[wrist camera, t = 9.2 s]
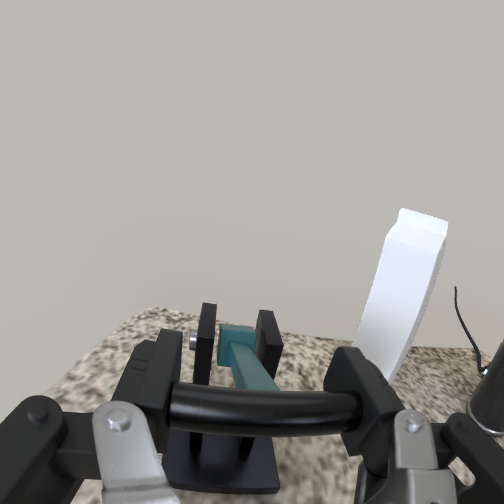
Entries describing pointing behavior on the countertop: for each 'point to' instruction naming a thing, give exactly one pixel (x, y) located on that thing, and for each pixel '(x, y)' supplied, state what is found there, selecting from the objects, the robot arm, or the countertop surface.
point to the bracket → (223, 446)
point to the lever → (257, 399)
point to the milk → (401, 290)
